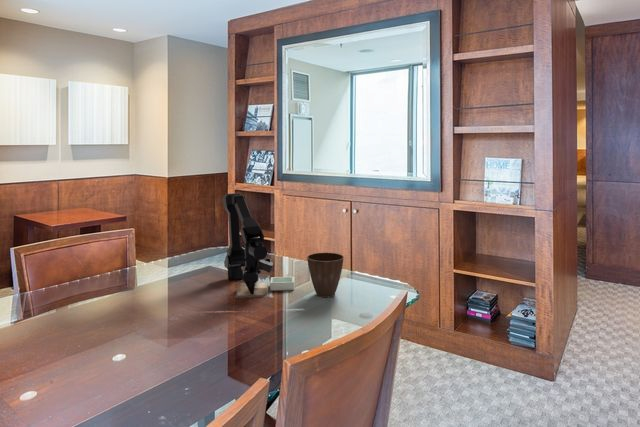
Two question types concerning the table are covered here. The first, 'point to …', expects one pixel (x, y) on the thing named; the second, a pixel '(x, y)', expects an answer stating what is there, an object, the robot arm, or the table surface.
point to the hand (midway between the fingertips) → (253, 291)
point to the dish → (281, 283)
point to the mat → (253, 295)
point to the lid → (258, 290)
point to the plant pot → (325, 272)
